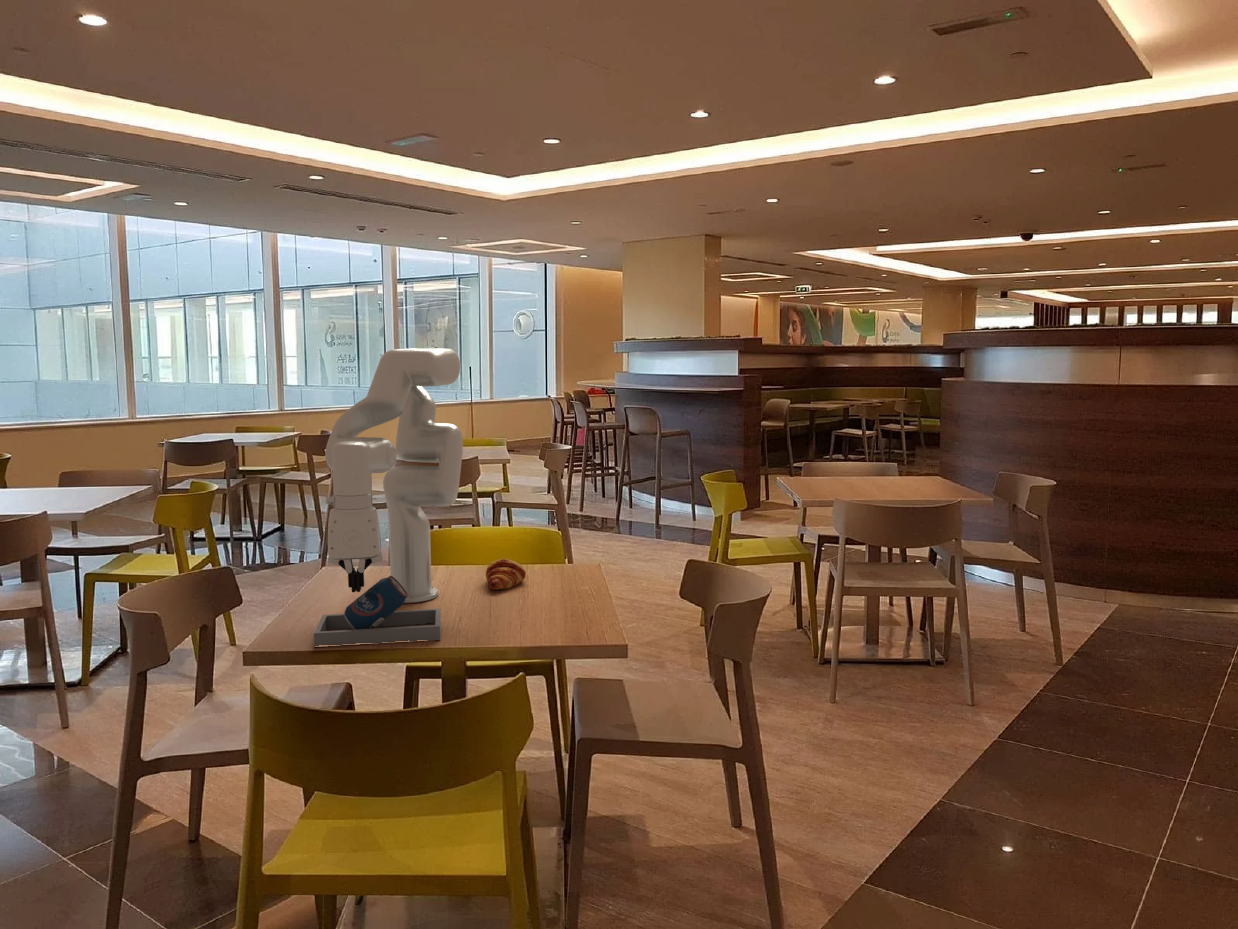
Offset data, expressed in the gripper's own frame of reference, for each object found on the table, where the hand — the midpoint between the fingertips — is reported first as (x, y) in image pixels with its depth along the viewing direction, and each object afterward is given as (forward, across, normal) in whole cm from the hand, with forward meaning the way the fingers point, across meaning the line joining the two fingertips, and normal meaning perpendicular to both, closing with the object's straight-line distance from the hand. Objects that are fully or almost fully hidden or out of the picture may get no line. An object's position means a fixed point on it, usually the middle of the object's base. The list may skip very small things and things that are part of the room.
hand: (356, 590), depth 183 cm
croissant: (+10, +33, +38) cm, 51 cm away
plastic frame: (+10, +4, 0) cm, 11 cm away
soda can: (+7, -1, 0) cm, 7 cm away
